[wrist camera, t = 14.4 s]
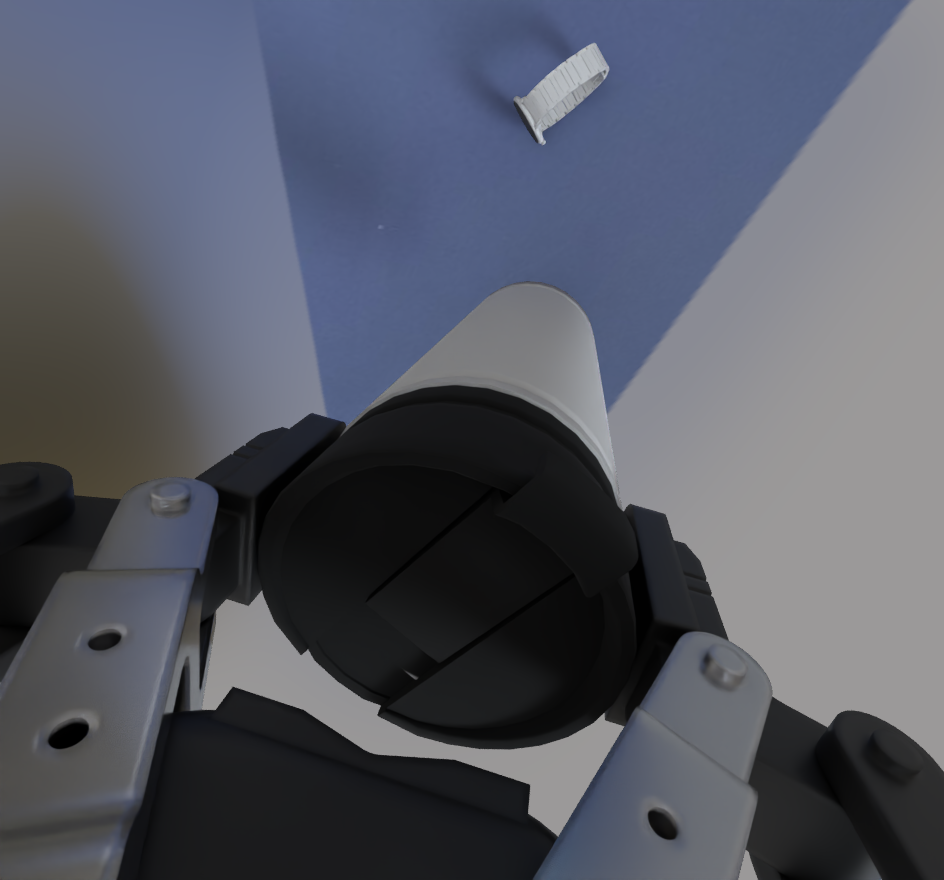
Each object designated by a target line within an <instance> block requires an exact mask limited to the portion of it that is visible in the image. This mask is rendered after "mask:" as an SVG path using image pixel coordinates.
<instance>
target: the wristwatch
mask: <svg viewBox="0 0 944 880" xmlns="http://www.w3.org/2000/svg"><path fill="white" fill-rule="evenodd" d="M608 72H609V67H608V65H607V63H606V61H605V60H604V58H603V56H602V54H601V52H600V50H599V49H598V47H597V45H596V43H594V44H590V45H588V46H587V47H586V48H584V49H582V50H580V51H579V52H578V53H576V55H573V56H572V57H570V58H569V59H567V60H566V61H565V62H563V63H562V64H561V65H559V66H558V67H557V68H556V69H555V70H553V71H552V72H551V73H550V74H548V75H547V76H546V77H545V78H544V79H545V80H544V79H543V80H542V81H541V82H540V83H539V84H537V85H536V86H535V88H534V89H533V90H532V91H531V92H530V93H529V94H528V95H527V97H526V96H525V97H523V98H522V99H521V98H520V97H518V96H516V97H514V105H515V107H516V109H517V112H518V114H519V115H520V117H521V119H522V121H523V123H524V124H525V126H526V128H527V130H528V131H529V133H530V134H531V136H532V137H533V139H534V140H535V141H536V142H537V143H539V144H542V145H544V144H545V143H546V141H545V140H544V138H543V135H542V132H543V131H544V130H546V129H547V128H549V127H551V126H552V125H554V124H555V123H556V122H558V121H559V120H560V119H562V118H563V117H564V116H565V115H567V114H568V113H569V112H570V111H572V110H573V109H574V108H575V106H577V105H579V104H580V103H581V102H582V101H583V100H584V99H585V98H586V97H587V96H589V95H590V94H591V93H592V92H593V91H594V90H595V89H596V88H597V87H598V86H599V85H600V84H601V83H602V81H604V79H605V78H606V75H607V74H608ZM550 81H551V82H550ZM553 86H554V87H553ZM584 97H585V98H584ZM566 98H567V99H566ZM575 98H576V99H575ZM562 101H563V102H562ZM569 103H570V104H569ZM564 104H565V105H564ZM574 104H575V105H574ZM556 105H557V106H556ZM570 105H571V106H570ZM565 106H566V107H565ZM566 108H567V109H568V110H567V109H566ZM560 112H561V113H560ZM565 113H566V114H565Z"/></svg>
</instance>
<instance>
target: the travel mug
mask: <svg viewBox="0 0 944 880" xmlns="http://www.w3.org/2000/svg"><path fill="white" fill-rule="evenodd" d="M637 560H638V549H637V543H636V537H635V533H634V531H633V528H632V526H631V524H630V522H629V520H628V518H627V516H626V514H625V513H624V512H623V511H622V506H621V500H620V497H619V487H618V481H617V475H616V468H615V463H614V457H613V451H612V444H611V438H610V432H609V426H608V420H607V413H606V407H605V401H604V395H603V389H602V383H601V377H600V371H599V364H598V358H597V352H596V346H595V340H594V334H593V331H592V327H591V323H590V321H589V319H588V317H587V315H586V313H585V311H584V310H583V308H582V307H581V306H580V305H579V304H578V302H577V301H576V300H575V299H574V298H572V297H571V296H570V295H569V294H568V293H566V292H565V291H563V290H561V289H559V288H557V287H555V286H553V285H549V284H546V283H542V282H530V281H526V282H519V283H513V284H511V285H508V286H505V287H502V288H500V289H499V290H497V291H495V292H494V293H492V294H490V295H489V296H488V297H487V298H486V299H485V300H484V301H483V302H482V303H481V304H479V305H478V306H477V307H476V308H475V309H474V310H473V311H472V312H471V313H470V314H469V315H467V316H466V317H465V318H464V319H463V320H462V321H461V322H460V323H459V324H458V325H457V326H456V327H454V328H453V329H452V330H451V331H450V332H449V333H448V334H447V335H446V336H445V337H444V338H442V339H441V340H440V341H439V342H438V343H437V344H436V345H435V346H434V347H433V348H432V349H430V350H429V351H428V352H427V353H426V354H425V355H424V356H423V357H422V358H421V359H420V360H418V361H417V362H416V363H415V364H414V365H413V366H412V367H411V368H410V369H409V370H408V371H407V372H405V373H404V374H403V375H402V376H401V377H400V378H399V379H398V380H397V381H396V382H395V383H393V384H392V385H391V386H390V387H389V388H388V389H387V390H386V391H385V392H384V393H383V394H381V395H380V396H379V397H378V398H377V399H376V400H375V401H374V402H373V403H372V404H371V405H370V406H368V407H367V408H366V409H365V410H364V411H363V412H362V413H361V414H360V415H359V416H358V417H356V418H355V419H354V420H353V421H352V422H351V423H350V424H349V425H348V426H347V427H346V428H345V430H344V431H343V433H342V434H341V436H340V437H339V438H338V439H337V440H336V441H335V442H334V443H333V444H332V445H331V446H330V447H329V448H327V449H326V450H325V451H324V452H323V453H322V454H321V455H320V456H319V457H318V458H317V459H316V460H315V461H313V462H312V463H311V464H310V465H309V466H308V467H307V468H306V469H305V470H304V471H303V472H302V473H301V474H300V475H299V476H297V477H296V478H295V479H294V480H293V481H292V482H291V483H290V484H289V485H288V486H287V487H286V488H285V489H284V490H282V491H281V492H280V494H279V496H278V497H277V499H276V500H275V502H274V504H273V505H272V507H271V508H270V510H269V511H268V513H267V515H266V517H265V520H264V524H263V527H262V531H261V534H260V537H259V541H258V572H259V577H260V581H261V586H262V591H263V595H264V598H265V600H266V603H267V605H268V608H269V610H270V612H271V614H272V617H273V619H274V622H275V623H276V624H277V626H278V627H279V628H280V629H281V631H282V632H283V633H284V634H285V636H286V637H287V638H288V639H289V641H290V642H291V643H292V645H293V646H294V647H295V648H296V650H298V652H299V653H300V655H302V654H303V653H304V652H306V651H307V649H309V651H310V653H311V655H312V656H313V658H314V660H315V661H316V662H317V663H318V664H319V665H321V667H322V668H324V669H325V670H326V671H327V672H328V673H329V674H330V675H331V676H332V677H333V678H335V679H336V680H337V681H338V682H339V683H341V684H342V685H344V686H345V687H347V688H348V689H350V690H351V691H353V692H354V693H355V694H357V695H358V696H360V697H361V698H363V699H365V700H367V701H370V702H373V703H376V704H378V705H381V707H380V710H379V712H378V716H379V717H381V718H383V719H385V720H387V721H389V722H391V723H393V724H395V725H397V726H399V727H401V728H403V729H405V730H407V731H409V732H411V733H413V734H415V735H417V736H420V737H424V738H428V739H432V740H435V741H439V742H443V743H446V744H451V745H458V746H464V747H471V748H478V749H517V748H525V747H533V746H539V745H543V744H547V743H550V742H553V741H556V740H560V739H563V738H566V737H569V736H570V735H572V734H574V733H576V732H578V731H579V730H581V729H583V728H585V727H587V726H589V725H591V724H592V723H594V722H595V721H596V720H597V719H598V718H599V717H600V716H601V715H602V714H603V713H605V712H606V711H607V710H608V709H609V708H610V707H611V706H612V705H613V704H614V703H615V701H616V700H617V698H618V697H619V695H620V693H621V692H622V690H623V688H624V687H625V685H626V684H627V682H628V680H629V678H630V675H631V671H632V667H633V663H634V659H635V656H636V652H637V642H636V617H635V611H634V605H633V599H632V592H631V586H630V579H629V571H630V570H632V568H633V567H634V566H635V565H636V563H637Z"/></svg>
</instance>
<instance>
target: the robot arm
mask: <svg viewBox="0 0 944 880" xmlns="http://www.w3.org/2000/svg"><path fill="white" fill-rule="evenodd" d="M345 428H346V424H345V423H344V422H342V421H338V420H335V419H331V418H327V417H324V416H320V415H317V414H313V413H311V414H309V415H308V416H306V417H305V418H304V419H302V420H301V421H299V422H298V423H297V424H295V425H294V426H293V427H291V428H290V429H287V428H284V427H281V428H278V429H275V430H271V431H268V432H264V433H261V434H259V435H258V436H256V437H255V438H254V439H252V440H251V441H249V442H248V443H246V446H242V447H240V448H239V449H238V450H236V451H234V453H233V455H231V454H230V455H229V456H227V457H226V458H224V459H223V460H221V461H220V462H218V463H217V464H216V465H214V466H213V467H211V468H210V469H208V470H207V471H205V472H204V473H202V474H201V475H199V476H198V477H196V478H195V479H191V478H183V477H169V478H160V479H154V480H151V481H147V482H144V483H141V484H139V485H137V486H135V487H133V488H131V489H130V490H128V491H127V492H126V493H125V494H124V496H123V497H122V499H110V498H98V497H86V496H75V495H74V489H73V481H72V476H71V474H70V473H69V472H68V471H67V470H66V469H64V468H62V467H60V466H57V465H53V464H48V463H41V462H16V463H8V464H2V465H0V880H738V878H739V873H740V870H741V866H742V862H743V858H744V854H745V850H747V851H748V852H749V854H750V858H751V861H752V864H753V867H754V870H755V872H756V875H757V878H758V880H881V879H882V880H944V772H943V770H942V769H941V768H940V767H939V766H938V764H937V763H936V762H935V761H934V759H933V758H932V757H931V756H930V755H929V754H928V753H927V752H926V751H925V750H924V749H923V748H922V747H920V746H919V745H918V744H917V743H916V742H915V741H914V740H912V739H911V738H910V737H908V736H907V735H906V734H904V733H903V732H902V731H900V730H899V729H897V728H896V727H894V726H892V725H890V724H889V723H887V722H885V721H883V720H881V719H879V718H877V717H875V716H872V715H870V714H867V713H863V712H859V711H844V712H841V713H839V714H838V715H837V716H836V717H835V719H834V720H833V721H832V723H831V724H830V726H829V727H828V728H827V727H826V726H824V725H822V724H820V723H818V722H816V721H815V720H813V719H811V718H809V717H807V716H805V715H803V714H802V713H800V712H798V711H796V710H794V709H792V708H791V707H789V706H787V705H785V704H783V703H782V702H780V701H778V700H777V699H775V698H774V697H772V686H771V683H770V680H769V678H768V677H767V675H766V673H765V672H764V670H763V669H762V668H761V666H760V665H759V664H758V663H757V662H756V661H755V660H754V659H753V658H752V657H751V656H750V655H749V654H748V653H746V652H745V651H744V650H743V649H741V648H740V647H738V646H736V645H735V644H733V643H732V642H730V641H729V640H728V637H727V634H726V631H725V629H724V626H723V623H722V620H721V618H720V615H719V612H718V609H717V606H716V604H715V601H714V598H713V597H712V596H711V594H712V592H711V590H710V587H709V584H708V582H706V576H705V573H704V570H703V568H702V565H701V562H700V560H699V559H698V558H697V557H696V556H695V555H694V554H693V552H692V551H691V550H690V549H689V548H688V547H687V545H686V544H684V543H681V542H678V541H674V540H673V537H672V534H671V530H670V527H669V524H668V520H667V517H666V515H665V514H663V513H659V512H656V511H653V510H649V509H645V508H642V507H639V506H635V505H632V504H630V505H628V506H627V507H626V509H625V511H624V513H625V514H626V516H627V518H628V520H629V522H630V524H631V526H632V528H633V531H634V533H635V537H636V543H637V549H638V560H637V563H636V565H635V566H634V567H633V568H632V570H630V571H629V579H630V586H631V592H632V599H633V605H634V611H635V617H636V642H637V652H636V656H635V659H634V663H633V667H632V671H631V675H630V678H629V680H628V682H627V684H626V685H625V687H624V688H623V690H622V692H621V693H620V695H619V697H618V698H617V700H616V701H615V703H614V704H613V705H612V706H611V707H610V708H609V709H608V710H607V711H606V712H605V720H606V721H609V722H613V723H616V724H619V725H622V726H625V727H624V728H623V730H622V732H621V733H620V735H619V737H618V738H617V740H616V742H615V743H614V745H613V747H612V748H611V750H610V752H609V753H608V755H607V757H606V758H605V760H604V762H603V763H602V765H601V767H600V768H599V770H598V772H597V773H596V775H595V777H594V778H593V780H592V782H591V783H590V785H589V787H588V788H587V790H586V792H585V793H584V795H583V797H582V798H581V800H580V802H579V803H578V805H577V807H576V808H575V810H574V812H573V813H572V815H571V817H570V818H569V820H568V822H567V823H566V825H565V827H564V828H563V830H562V832H561V833H560V835H559V837H558V836H556V834H554V833H553V832H552V831H551V830H549V829H548V828H547V827H546V826H544V825H543V824H542V823H541V822H540V821H538V820H537V819H535V818H533V817H532V816H531V815H529V814H528V805H529V794H530V785H529V784H526V783H523V782H520V781H517V780H514V779H511V778H508V777H505V776H502V775H499V774H496V773H493V772H489V771H487V770H483V769H481V768H478V767H475V766H472V765H469V764H465V763H462V762H459V761H456V760H449V759H432V758H418V757H403V756H387V755H376V754H372V753H369V752H367V751H365V750H363V749H362V748H360V747H359V746H357V745H356V744H354V743H353V742H351V741H350V740H348V739H346V738H345V737H344V736H342V735H341V734H339V733H338V732H336V731H335V730H333V729H331V728H330V727H328V726H327V725H325V724H324V723H322V722H321V721H319V720H318V719H316V718H315V717H313V716H312V715H310V714H308V713H307V712H306V711H304V710H302V709H299V708H296V707H293V706H290V705H287V704H284V703H281V702H278V701H275V700H271V699H268V698H265V697H263V696H259V695H256V694H253V693H250V692H247V691H244V690H241V689H238V688H235V687H232V689H231V690H230V691H229V693H228V694H227V695H226V697H225V698H224V699H223V701H222V702H221V704H220V705H219V706H218V708H217V709H216V710H202V703H203V697H204V690H205V684H206V679H207V673H208V667H209V661H210V655H211V649H212V643H213V636H214V630H215V624H216V610H217V608H219V606H220V605H221V604H222V603H223V602H224V601H225V600H226V599H229V600H232V601H235V602H238V603H241V604H245V605H248V606H249V605H250V603H251V602H252V601H253V600H254V599H255V597H256V596H257V595H258V594H259V593H260V592H261V590H262V586H261V581H260V577H259V572H258V541H259V537H260V534H261V531H262V527H263V524H264V520H265V517H266V515H267V513H268V511H269V510H270V508H271V507H272V505H273V504H274V502H275V500H276V499H277V497H278V496H279V494H280V492H281V491H282V490H284V489H285V488H286V487H287V486H288V485H289V484H290V483H291V482H292V481H293V480H294V479H295V478H296V477H297V476H299V475H300V474H301V473H302V472H303V471H304V470H305V469H306V468H307V467H308V466H309V465H310V464H311V463H312V462H313V461H315V460H316V459H317V458H318V457H319V456H320V455H321V454H322V453H323V452H324V451H325V450H326V449H327V448H329V447H330V446H331V445H332V444H333V443H334V442H335V441H336V440H337V439H338V438H339V437H340V436H341V434H342V433H343V431H344V430H345Z"/></svg>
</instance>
